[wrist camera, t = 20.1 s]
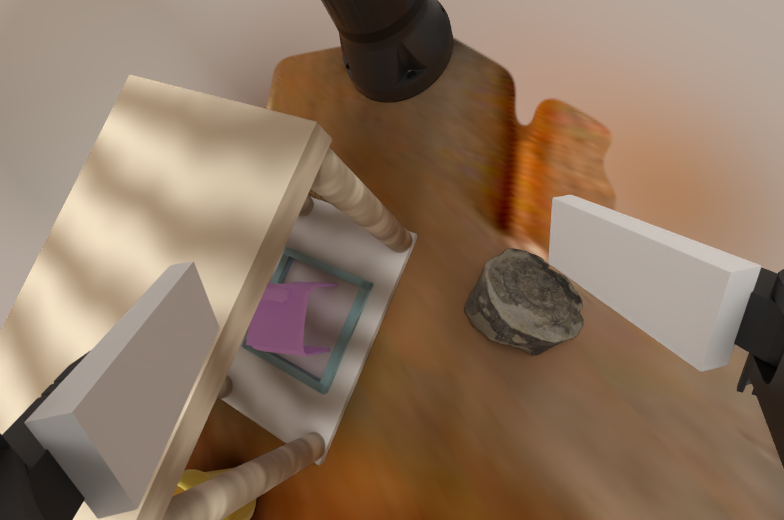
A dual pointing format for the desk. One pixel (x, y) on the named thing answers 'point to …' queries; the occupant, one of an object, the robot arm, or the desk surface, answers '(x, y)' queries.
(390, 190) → the desk surface
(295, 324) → the toy chair
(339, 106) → the desk surface
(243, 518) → the plant pot
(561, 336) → the fossil
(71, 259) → the canopy shelf
